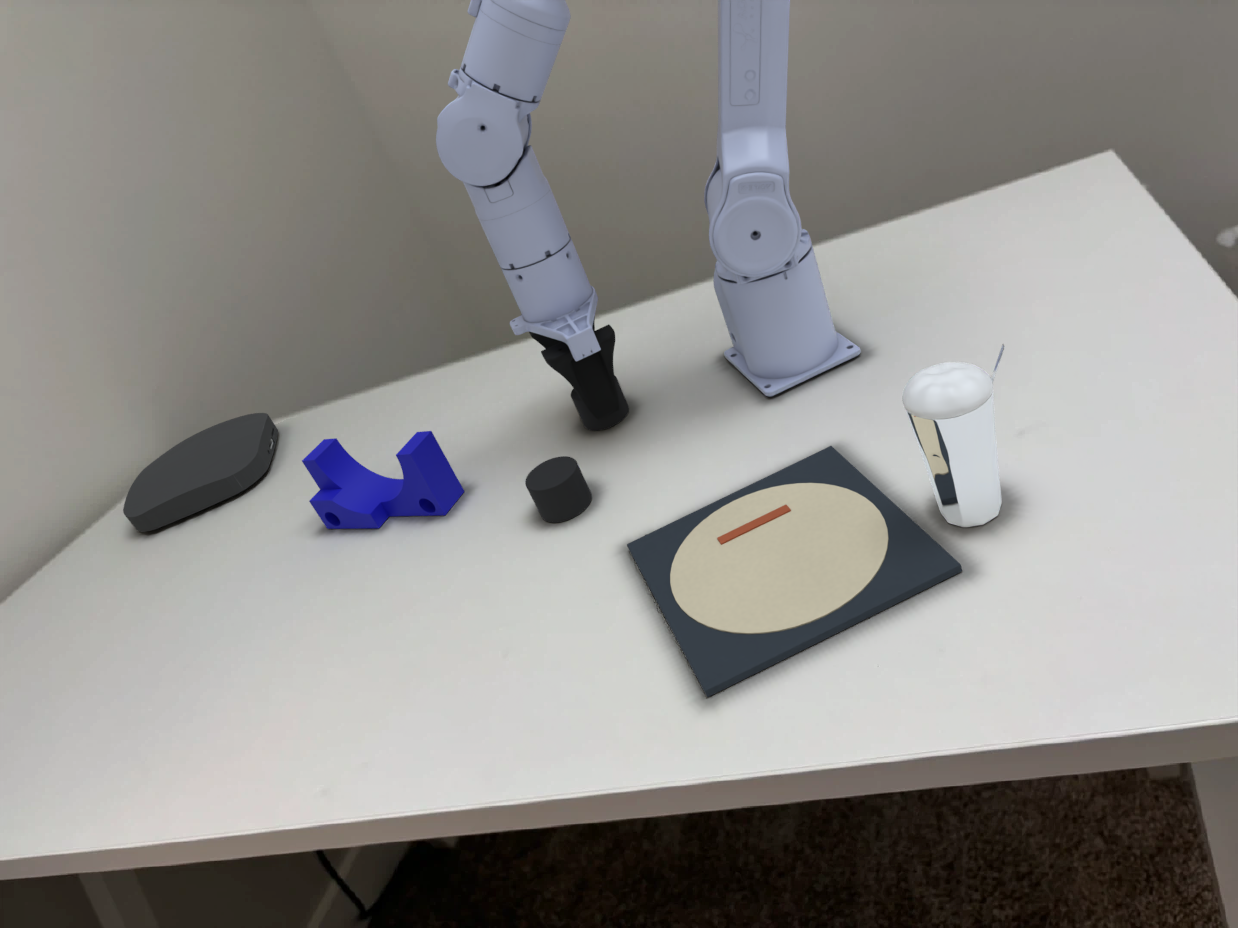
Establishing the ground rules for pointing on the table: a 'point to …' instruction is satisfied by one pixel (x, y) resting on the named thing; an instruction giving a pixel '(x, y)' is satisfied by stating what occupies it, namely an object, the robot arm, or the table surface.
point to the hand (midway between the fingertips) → (600, 402)
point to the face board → (784, 567)
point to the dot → (606, 421)
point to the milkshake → (957, 438)
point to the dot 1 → (558, 489)
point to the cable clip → (381, 485)
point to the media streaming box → (201, 471)
